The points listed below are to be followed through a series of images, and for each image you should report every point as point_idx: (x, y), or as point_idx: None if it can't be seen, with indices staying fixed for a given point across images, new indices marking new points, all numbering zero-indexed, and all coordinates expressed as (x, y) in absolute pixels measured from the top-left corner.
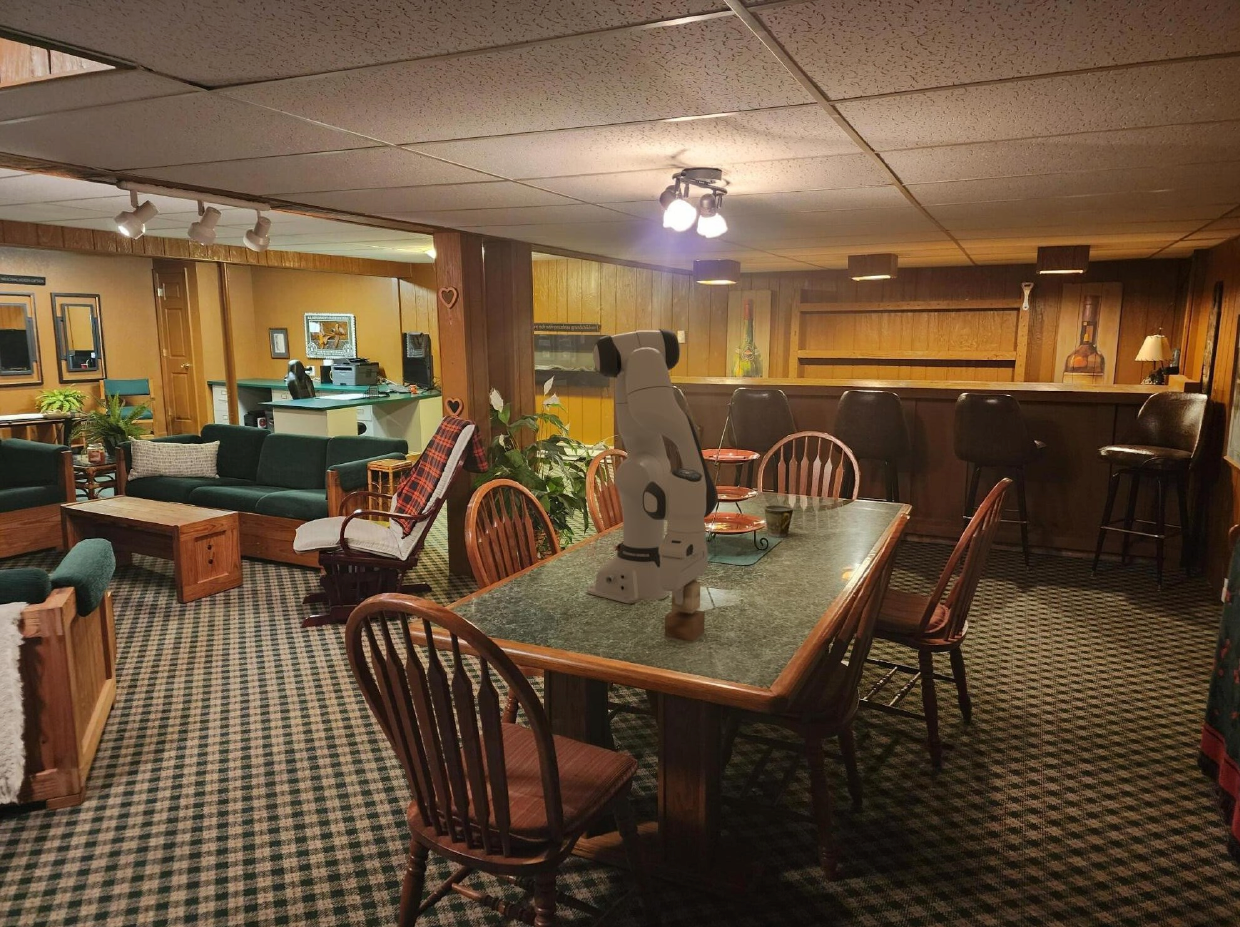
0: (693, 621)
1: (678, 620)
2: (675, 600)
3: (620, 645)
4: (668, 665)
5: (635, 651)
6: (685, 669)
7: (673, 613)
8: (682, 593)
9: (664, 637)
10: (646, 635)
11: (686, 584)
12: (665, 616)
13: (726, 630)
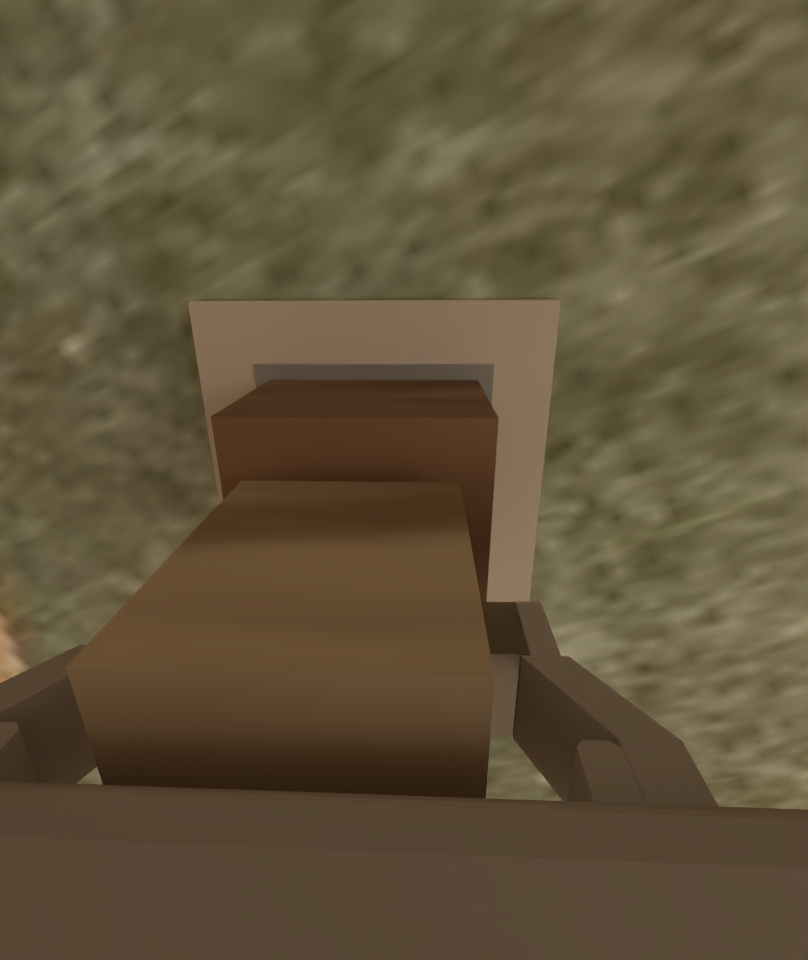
0: None
1: None
2: None
3: (41, 108)
4: (7, 523)
5: (31, 270)
6: (28, 604)
7: (311, 459)
8: (70, 775)
9: (258, 383)
10: (318, 201)
11: None
12: (212, 420)
13: (617, 615)
